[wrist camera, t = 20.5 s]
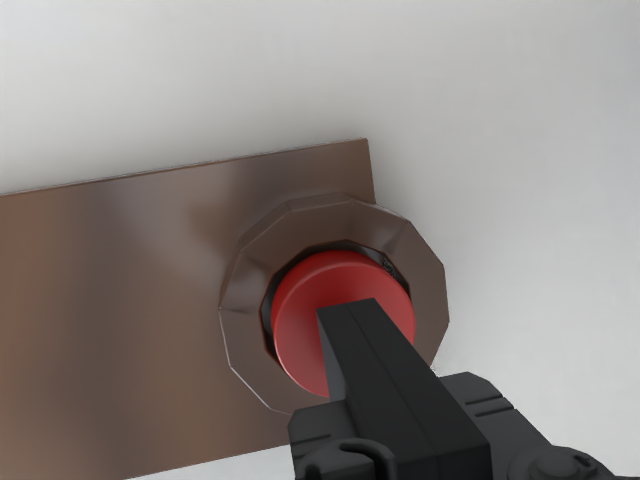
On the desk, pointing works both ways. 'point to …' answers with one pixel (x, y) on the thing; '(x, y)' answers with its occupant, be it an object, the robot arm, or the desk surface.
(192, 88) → the desk surface
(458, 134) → the desk surface
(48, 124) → the desk surface
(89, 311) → the button block
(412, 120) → the desk surface
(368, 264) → the button
